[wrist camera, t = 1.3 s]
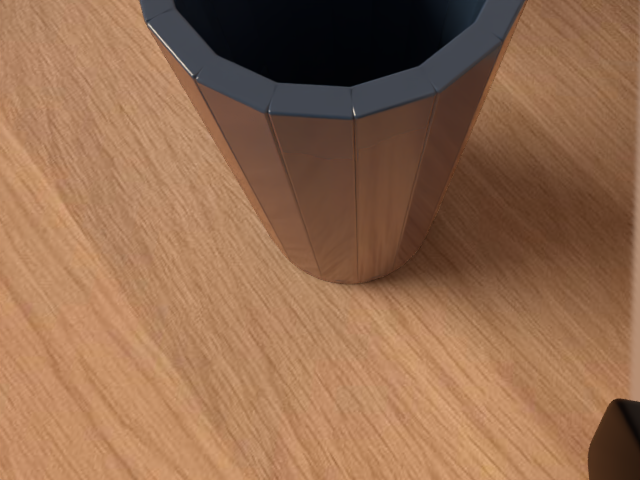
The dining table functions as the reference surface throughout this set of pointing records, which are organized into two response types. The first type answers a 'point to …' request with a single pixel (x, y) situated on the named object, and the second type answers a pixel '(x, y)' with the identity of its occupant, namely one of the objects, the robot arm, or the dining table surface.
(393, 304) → the dining table surface
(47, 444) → the dining table surface
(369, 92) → the cup
